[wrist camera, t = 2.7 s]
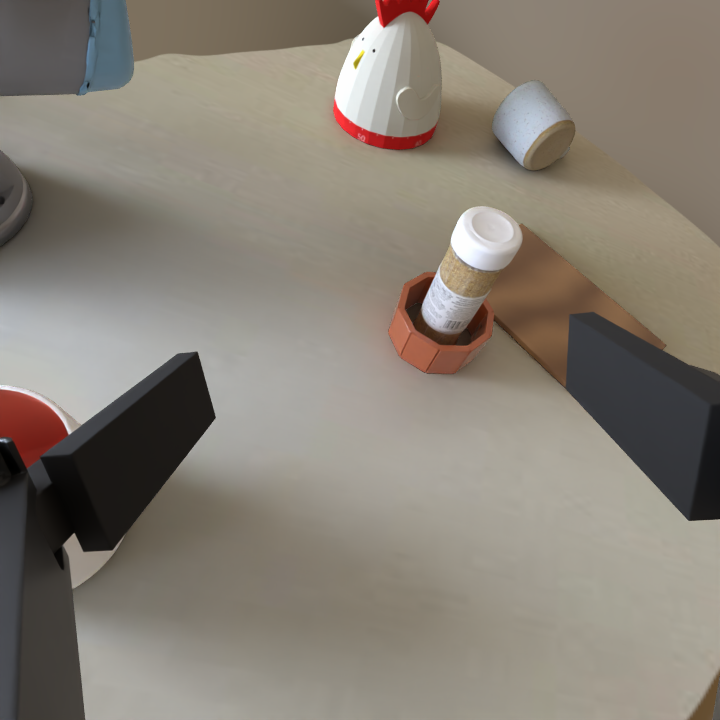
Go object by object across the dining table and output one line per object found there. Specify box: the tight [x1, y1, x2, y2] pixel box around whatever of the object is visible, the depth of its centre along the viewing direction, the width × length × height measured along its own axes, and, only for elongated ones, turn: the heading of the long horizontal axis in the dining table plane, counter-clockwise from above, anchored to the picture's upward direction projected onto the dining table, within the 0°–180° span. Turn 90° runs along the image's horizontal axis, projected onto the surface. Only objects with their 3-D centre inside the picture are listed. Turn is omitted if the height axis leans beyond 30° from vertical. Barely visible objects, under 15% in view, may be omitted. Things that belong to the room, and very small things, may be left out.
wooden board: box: [486, 224, 666, 388], centre depth 44 cm, size 20×13×1 cm, turn 39°
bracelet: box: [388, 272, 494, 374], centre depth 38 cm, size 8×9×4 cm
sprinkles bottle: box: [413, 206, 523, 345], centre depth 34 cm, size 5×5×14 cm
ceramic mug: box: [492, 80, 575, 170], centre depth 54 cm, size 11×8×8 cm
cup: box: [0, 385, 125, 589], centre depth 24 cm, size 10×10×10 cm
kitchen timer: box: [333, 0, 442, 150], centre depth 50 cm, size 14×14×15 cm
